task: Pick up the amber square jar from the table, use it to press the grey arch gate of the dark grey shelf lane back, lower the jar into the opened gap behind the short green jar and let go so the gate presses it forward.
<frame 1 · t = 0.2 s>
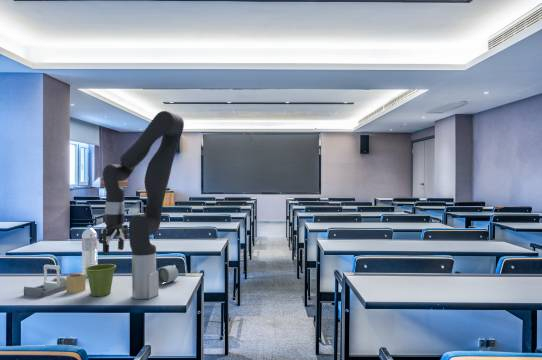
hand: (113, 251, 154), 17 cm above the table, tool pointing down, fingers open, 8 cm apart
grey arch gate: (51, 277, 157), point 6 cm above the table, slide at 0.0 cm
water bottle: (90, 277, 181), on the table
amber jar: (76, 292, 156), on the table
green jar: (59, 287, 160), point 1 cm above the table, touching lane
ceramic mug: (164, 282, 170), on the table
plant pot: (100, 294, 153), on the table
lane: (50, 292, 156), on the table
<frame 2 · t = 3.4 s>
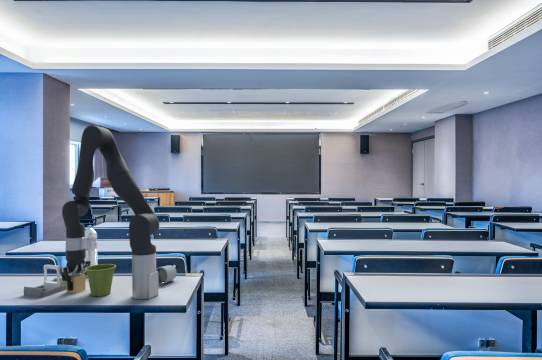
hand: (76, 288, 156), 2 cm above the table, tool pointing down, fingers closed on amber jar, 5 cm apart
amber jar: (76, 292, 156), on the table, touching gripper
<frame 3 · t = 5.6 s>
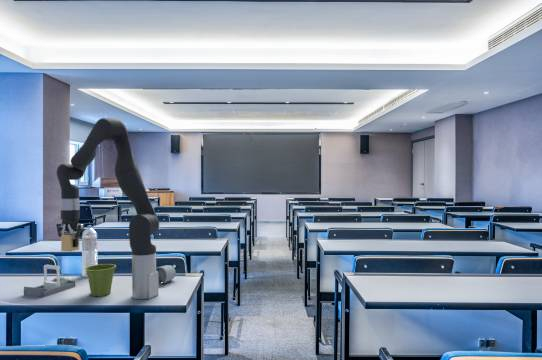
hand: (70, 246, 166), 17 cm above the table, tool pointing down, fingers closed on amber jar, 5 cm apart
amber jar: (70, 250, 166), point 16 cm above the table, touching gripper
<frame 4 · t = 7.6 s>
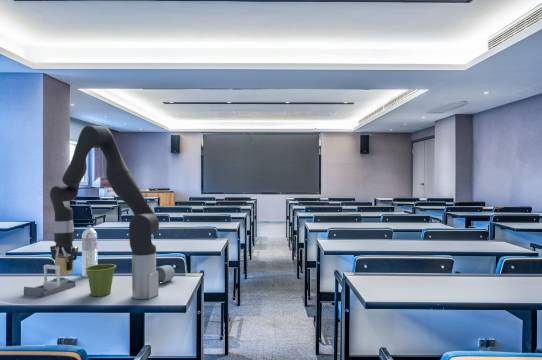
hand: (64, 269, 163), 8 cm above the table, tool pointing down, fingers closed on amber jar, 5 cm apart
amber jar: (64, 273, 163), point 6 cm above the table, touching gripper
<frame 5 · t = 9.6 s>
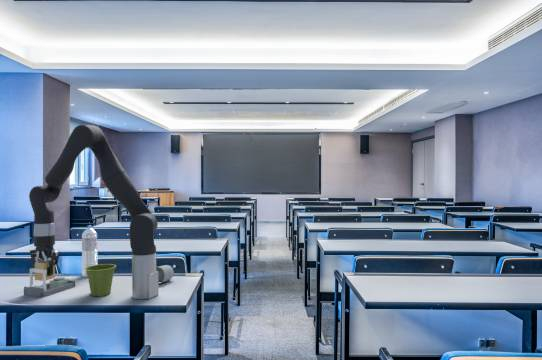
hand: (44, 274, 154), 8 cm above the table, tool pointing down, fingers closed on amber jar, 5 cm apart
grey arch gate: (37, 281, 151), point 6 cm above the table, slide at 6.5 cm, touching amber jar
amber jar: (45, 278, 154), point 6 cm above the table, touching gripper, grey arch gate
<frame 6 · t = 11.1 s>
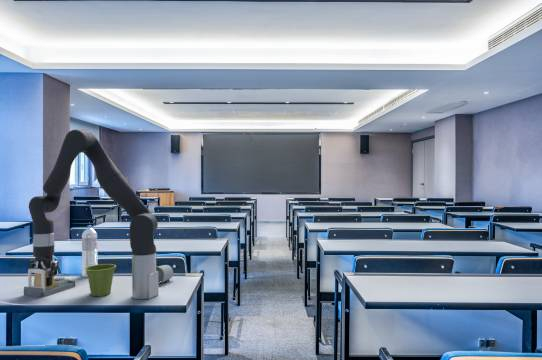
hand: (43, 285, 154), 4 cm above the table, tool pointing down, fingers closed on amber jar, 5 cm apart
grey arch gate: (36, 282, 150), point 6 cm above the table, slide at 7.1 cm
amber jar: (43, 288, 153), point 2 cm above the table, tilted 6°, touching gripper
when the fingers open (3 cm above the table, at t = 12.0 s): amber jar drops 1 cm, resting on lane.
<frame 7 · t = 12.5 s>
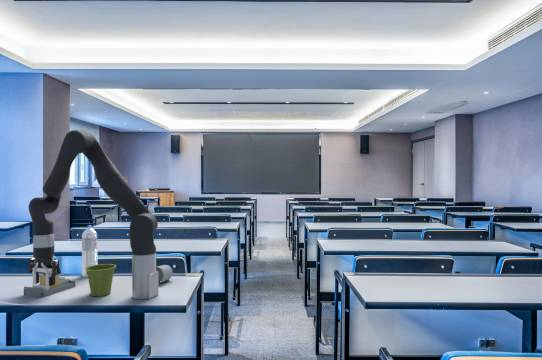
hand: (44, 284, 154), 4 cm above the table, tool pointing down, fingers open, 8 cm apart
grey arch gate: (40, 280, 152), point 6 cm above the table, slide at 5.1 cm, touching gripper
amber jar: (49, 291, 156), point 1 cm above the table, touching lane
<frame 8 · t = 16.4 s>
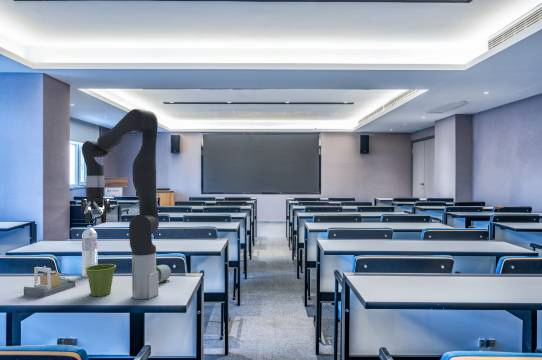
hand: (95, 222, 165), 28 cm above the table, tool pointing down, fingers open, 8 cm apart
grey arch gate: (42, 280, 153), point 6 cm above the table, slide at 4.4 cm, touching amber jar
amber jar: (50, 291, 156), point 1 cm above the table, touching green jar, grey arch gate
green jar: (59, 287, 161), point 1 cm above the table, touching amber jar, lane
at the end: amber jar 0.8 cm from the target spot on the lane, point 0.6 cm above the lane's base; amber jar tilted 0°; grey arch gate slide at 4.4 cm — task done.
